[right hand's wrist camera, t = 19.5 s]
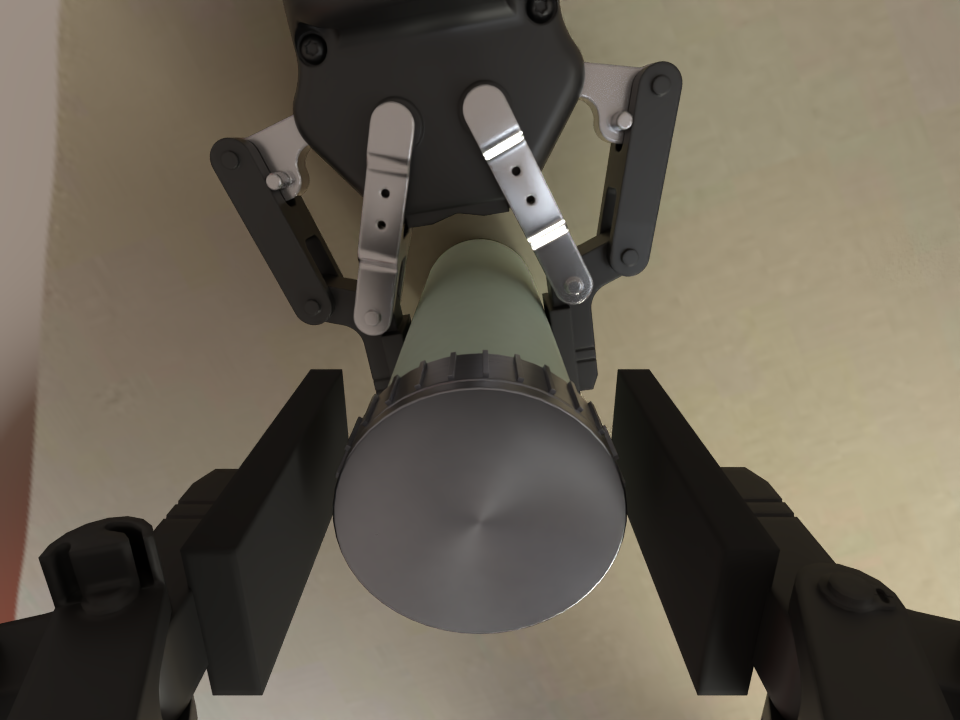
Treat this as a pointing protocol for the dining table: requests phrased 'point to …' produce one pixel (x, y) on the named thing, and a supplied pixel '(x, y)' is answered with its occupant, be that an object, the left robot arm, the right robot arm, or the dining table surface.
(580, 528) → the lid
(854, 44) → the dining table surface
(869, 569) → the dining table surface
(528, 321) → the bottle
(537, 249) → the left robot arm
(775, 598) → the right robot arm
